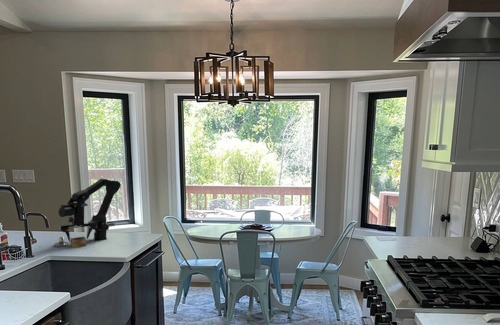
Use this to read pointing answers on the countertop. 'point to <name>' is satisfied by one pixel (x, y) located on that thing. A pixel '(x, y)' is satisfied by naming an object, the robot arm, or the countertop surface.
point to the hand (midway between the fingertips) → (78, 240)
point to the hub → (61, 242)
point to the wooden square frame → (78, 242)
